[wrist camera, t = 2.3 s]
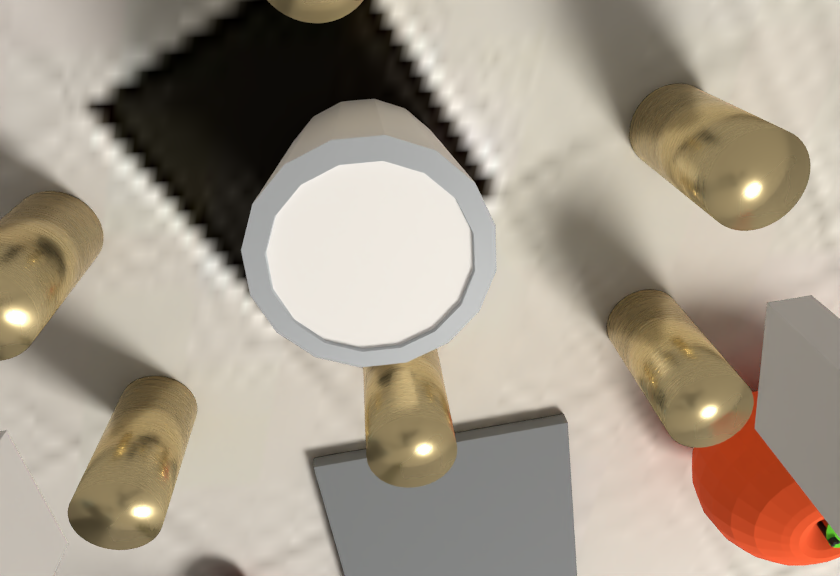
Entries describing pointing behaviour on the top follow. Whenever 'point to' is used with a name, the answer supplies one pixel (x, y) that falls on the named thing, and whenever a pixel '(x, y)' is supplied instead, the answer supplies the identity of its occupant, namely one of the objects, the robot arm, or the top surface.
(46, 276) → the spacer field
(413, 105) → the top surface
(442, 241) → the white cup
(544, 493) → the slate mat
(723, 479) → the clementine
